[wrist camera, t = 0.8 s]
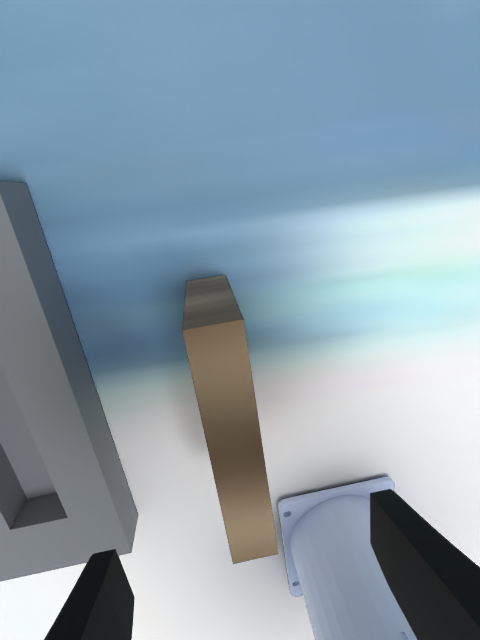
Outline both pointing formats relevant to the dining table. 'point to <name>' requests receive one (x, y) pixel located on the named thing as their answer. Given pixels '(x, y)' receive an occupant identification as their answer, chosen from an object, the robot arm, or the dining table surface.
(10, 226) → the panel with rectangular hole
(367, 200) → the dining table surface
